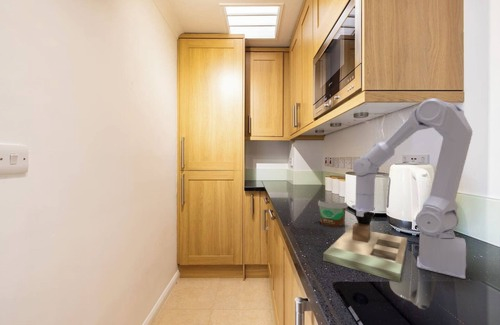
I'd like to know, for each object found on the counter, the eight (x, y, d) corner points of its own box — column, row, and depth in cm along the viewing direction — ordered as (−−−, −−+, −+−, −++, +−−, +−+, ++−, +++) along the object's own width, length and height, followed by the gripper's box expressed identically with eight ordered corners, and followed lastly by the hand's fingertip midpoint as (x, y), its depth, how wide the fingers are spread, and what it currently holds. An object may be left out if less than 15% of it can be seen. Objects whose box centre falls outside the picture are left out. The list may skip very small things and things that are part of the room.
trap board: (407, 243, 78) (407, 238, 78) (399, 282, 54) (399, 273, 54) (350, 232, 88) (350, 227, 88) (323, 260, 64) (323, 253, 64)
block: (370, 238, 76) (370, 225, 76) (367, 242, 73) (367, 228, 73) (355, 235, 79) (355, 222, 79) (352, 239, 76) (352, 225, 75)
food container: (314, 225, 98) (315, 201, 98) (317, 221, 103) (318, 199, 103) (345, 229, 92) (346, 204, 92) (347, 225, 98) (347, 202, 97)
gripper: (357, 190, 87) (356, 226, 87) (346, 195, 75) (345, 236, 76) (378, 192, 83) (377, 229, 83) (370, 197, 71) (369, 241, 71)
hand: (363, 233), depth 79 cm, fingers closed
